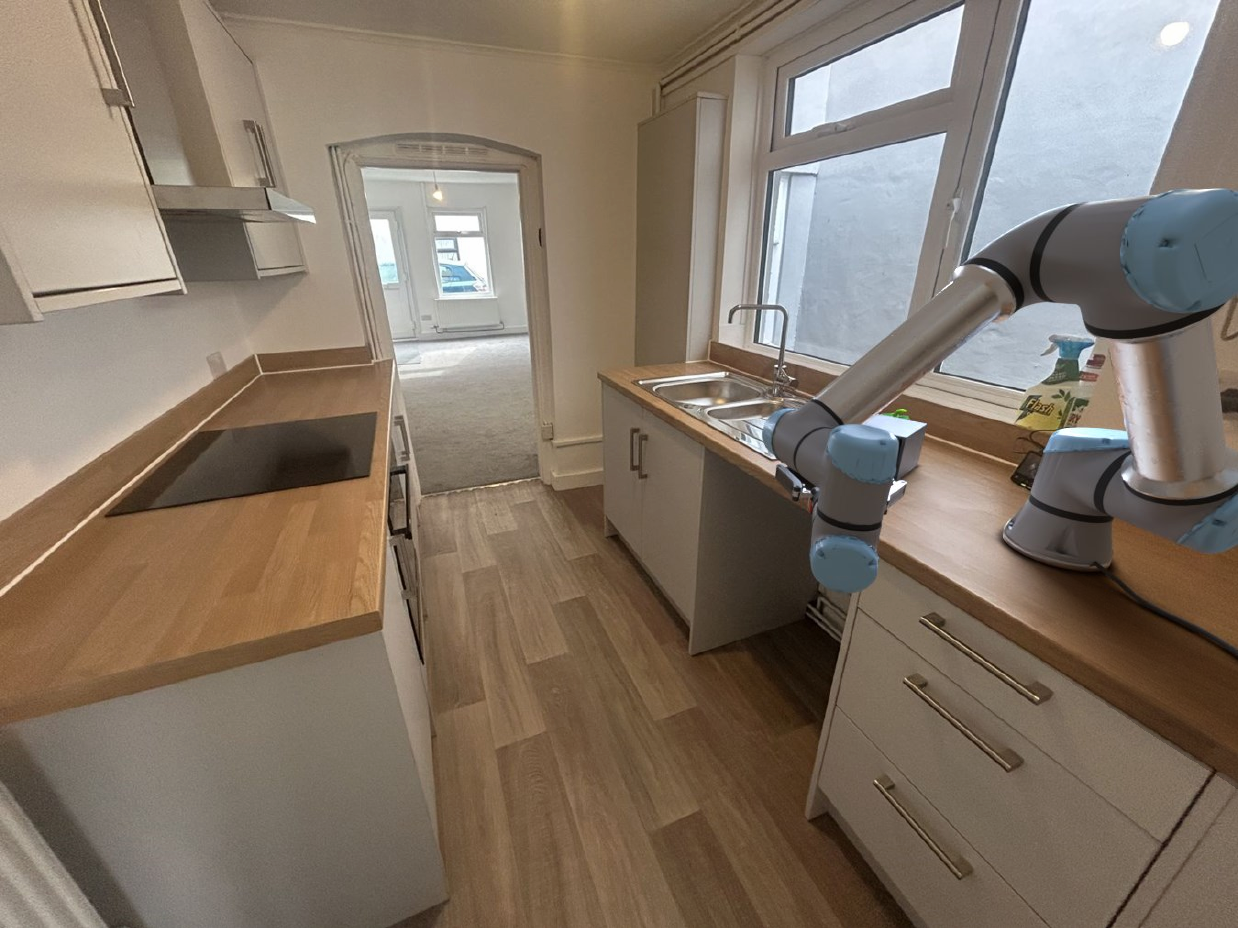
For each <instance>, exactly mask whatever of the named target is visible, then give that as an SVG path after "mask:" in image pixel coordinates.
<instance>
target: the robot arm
mask: <svg viewBox="0 0 1238 928" xmlns="http://www.w3.org/2000/svg"><path fill="white" fill-rule="evenodd" d="M1237 295H1238V190H1233V189H1229V188H1223V187H1222V188H1204V189H1198V188H1182V189H1181V188H1179V189H1171V190H1168V191H1164V192H1161V193H1157V194H1148V195H1139V196H1130V197H1122V198H1121V197H1120V198H1113V199H1112V198H1111V199H1101V200H1095V201H1081V202H1073V203H1068V204H1064V205H1060V206H1058V207H1057V206H1056V207H1055V208H1051V209H1048V210H1046V211H1043V212H1041V213H1039V214H1037V215H1035V216H1032V217H1030V218H1028V219H1026V220H1025V221H1023V222H1021V223H1019V224H1017V225H1015V226H1014V227H1012V228H1011V229H1009V230H1007V231H1006V232H1004V233H1002V234H1000V235H999V236H998V237H997V238H995V239H994V240H992V241H991V242H989V243H988V244H986V245H985V246H983V247H982V248H980V249H979V250H978V251H976V252H975V253H974V254H973V255H971V257H969V258H967V260H965V261H964V262H962V264H960V265H959V266H958V267H957V268H956V269H955V270H953V272H952V273H951V274H950V277H949V281H948V285H946V286H945V287H944V288H942V289H941V291H939V292H938V293H936V295H934V296H933V297H932V298H931V299H930V300H928V301H927V302H926V303H925V304H924V305H922V306H921V307H920V308H919V309H917V311H915V312H914V313H913V314H912V315H910V316H909V317H908V318H907V319H906V320H905V321H903V322H902V323H901V324H900V325H899V326H897V327H896V328H894V329H893V330H892V331H891V332H890V333H889V334H888V335H886V336H885V337H884V338H883V339H881V340H880V341H879V342H878V343H877V344H876V345H874V346H873V347H871V349H870V350H869V351H867V352H866V353H865V354H863V356H861V357H860V358H858V360H856V361H855V362H854V363H853V364H851V365H850V366H849V367H848V368H847V369H846V370H845V371H843V372H842V373H840V375H838V376H837V377H836V378H835V379H834V380H832V381H831V382H830V383H828V384H827V385H826V386H824V387H823V389H822V390H820V391H819V392H818V393H816V395H814V396H813V397H812V398H811V399H810V400H808V401H807V402H806V403H805V404H803V405H802V406H801V407H799V408H798V409H797V408H791V407H790V408H782V409H779V410H776V411H775V412H773V413H771V415H770V416H769V417H768V418H767V419H766V420H765V422H764V424H763V427H762V430H761V441H762V443H763V445H764V447H765V449H766V450H767V451H769V453H771V454H772V455H773V456H774V458H775V459H776V460H777V461H779V462H780V463H781V464H779V463H777V464H776V467H775V473H774V479H775V480H776V481H777V482H778V483H779V484H780V485H781V486H782V487H783V488H784V489H785V491H786V492H787V493H788V494H789V495H790V496H791V501H793V502H800V501H801V499H803V498H804V499H809V498H810V500H811V501H812V502H813V509H812V515H811V538H810V539H811V540H810V548H809V553H808V559H809V561H810V569H811V573H812V574H813V577H814V578H815V579H816V581H817V582H818V583H819V584H820V585H821V586H823V587H824V588H826V589H827V590H830V591H833V592H835V593H841V594H855V593H860V592H863V591H864V590H866V589H868V588H869V587H870V586H872V584H873V583H874V582H875V581H876V579H877V577H878V574H879V563H880V557H879V554H878V545H879V540H880V536H881V532H882V528H883V520H884V516H886V515H887V514H888V509H890V508H891V507H892V506H894V505H895V504H896V503H898V502H899V501H900V500H901V499H902V498H904V496H905V493H906V489H907V485H908V482H907V481H906V480H901V479H899V480H898V481H897V482H895V481H894V479H893V478H894V475H895V472H896V460H897V454H898V447H899V443H898V440H897V438H896V437H895V436H894V435H893V434H892V433H890V432H888V431H886V430H884V429H881V428H874V427H872V426H867V425H864V424H865V423H867V422H868V421H869V420H870V419H872V418H873V417H874V416H875V415H876V414H879V413H880V412H882V411H883V410H884V409H885V408H887V407H888V406H889V405H890V404H891V403H893V402H894V401H895V400H896V399H898V398H899V397H900V396H901V395H903V394H904V393H906V391H908V390H909V389H910V388H911V387H913V386H914V385H915V384H916V383H918V382H919V381H920V380H921V379H922V378H924V377H925V376H926V375H928V374H929V373H930V372H931V371H932V370H934V369H935V368H936V367H937V366H938V365H940V364H941V363H942V362H944V361H945V360H946V359H947V358H949V356H951V355H952V354H953V353H955V352H956V351H957V350H959V349H960V348H961V347H962V346H963V345H964V344H966V343H967V342H968V341H970V340H971V339H972V338H974V336H976V335H977V334H978V333H979V332H981V331H983V329H985V328H986V327H987V326H988V325H989V324H991V323H1001V322H1004V321H1006V320H1008V319H1009V318H1010V317H1012V316H1013V315H1014V314H1015V313H1017V312H1018V311H1019V310H1021V309H1023V308H1025V307H1029V306H1032V305H1036V304H1042V303H1052V304H1063V305H1065V304H1066V305H1075V306H1078V308H1079V309H1080V313H1081V317H1082V321H1083V326H1084V328H1085V330H1086V332H1087V333H1088V334H1089V335H1091V336H1093V337H1094V338H1098V339H1100V340H1105V343H1106V347H1107V352H1108V355H1109V356H1108V357H1109V361H1110V366H1111V370H1112V373H1113V379H1114V384H1115V386H1116V392H1117V397H1118V401H1119V405H1120V409H1121V414H1122V419H1123V422H1124V427H1125V430H1119V429H1109V428H1099V427H1067V428H1061V429H1058V430H1056V431H1054V432H1052V434H1051V435H1050V437H1049V440H1048V442H1047V444H1046V446H1045V447H1044V449H1043V451H1042V457H1041V459H1040V462H1039V466H1038V468H1037V471H1036V475H1035V477H1034V480H1033V483H1032V486H1031V489H1030V492H1029V495H1028V498H1027V500H1026V502H1025V503H1024V505H1023V506H1021V508H1020V509H1019V510H1018V511H1016V512H1017V513H1015V514H1014V516H1013V517H1010V518H1009V519H1008V521H1006V523H1005V525H1004V527H1003V533H1002V538H1003V540H1004V541H1005V543H1006V544H1007V545H1008V546H1009V547H1010V548H1012V549H1013V550H1015V551H1017V553H1020V554H1021V555H1023V556H1026V557H1028V558H1030V559H1033V560H1035V561H1037V562H1040V563H1043V564H1046V565H1049V566H1053V567H1056V568H1060V569H1065V570H1069V571H1077V572H1085V573H1086V572H1091V573H1093V572H1102V573H1103V574H1104V575H1106V576H1107V577H1108V578H1109V579H1111V580H1112V581H1113V582H1115V584H1117V585H1118V586H1119V587H1120V588H1121V589H1122V590H1123V591H1125V593H1127V594H1128V595H1129V596H1131V597H1132V598H1133V599H1135V600H1136V601H1137V602H1138V603H1140V604H1142V605H1143V606H1145V607H1147V608H1149V609H1150V610H1153V611H1154V612H1156V613H1158V614H1160V615H1162V616H1164V617H1165V618H1167V619H1170V620H1173V621H1175V622H1177V623H1179V624H1181V625H1183V626H1185V627H1187V628H1189V629H1191V630H1193V631H1196V632H1197V633H1200V634H1201V635H1203V636H1205V637H1206V638H1208V639H1210V640H1211V641H1213V642H1215V643H1216V644H1218V645H1220V646H1221V647H1223V648H1224V649H1226V650H1227V651H1229V652H1230V653H1232V654H1233V655H1235V656H1236V657H1238V649H1237V648H1236V647H1234V646H1233V645H1231V644H1230V643H1228V642H1227V641H1225V640H1223V639H1222V638H1220V637H1218V636H1216V635H1215V634H1213V633H1211V632H1210V631H1208V630H1206V629H1204V628H1203V627H1201V626H1198V625H1197V624H1194V623H1192V622H1190V621H1188V620H1186V619H1184V618H1182V617H1179V616H1177V615H1175V614H1173V613H1171V612H1169V611H1167V610H1165V609H1162V608H1160V607H1159V606H1157V605H1155V604H1153V603H1151V602H1150V601H1148V600H1147V599H1145V598H1143V597H1141V596H1140V595H1139V594H1137V593H1136V592H1135V591H1134V590H1132V588H1130V586H1128V585H1127V584H1126V583H1125V582H1124V581H1122V580H1121V579H1120V578H1118V577H1117V576H1116V575H1114V573H1112V572H1111V571H1109V569H1108V568H1109V567H1110V565H1111V563H1112V562H1113V558H1114V549H1113V548H1114V547H1113V545H1114V544H1113V543H1114V541H1113V521H1114V519H1116V520H1120V522H1121V521H1122V522H1124V523H1126V524H1129V525H1131V526H1133V527H1136V528H1137V529H1138V528H1139V529H1141V530H1143V531H1145V532H1148V533H1151V534H1153V535H1155V536H1157V537H1160V538H1161V539H1164V540H1166V541H1169V542H1171V543H1173V544H1175V545H1176V546H1178V547H1185V548H1187V549H1190V550H1192V551H1196V552H1197V553H1201V554H1205V555H1213V554H1220V553H1224V552H1226V551H1229V550H1231V549H1233V548H1235V547H1237V546H1238V450H1236V449H1235V448H1233V447H1231V446H1229V445H1227V444H1226V434H1225V426H1224V417H1223V407H1222V399H1221V389H1220V380H1219V372H1218V362H1217V353H1216V344H1215V343H1216V342H1215V335H1214V334H1215V333H1214V326H1213V325H1214V324H1213V317H1214V316H1215V315H1217V314H1218V313H1220V312H1221V311H1222V310H1223V309H1224V308H1225V307H1226V306H1227V305H1228V303H1229V302H1230V300H1231V299H1233V298H1235V296H1237Z"/></svg>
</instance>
